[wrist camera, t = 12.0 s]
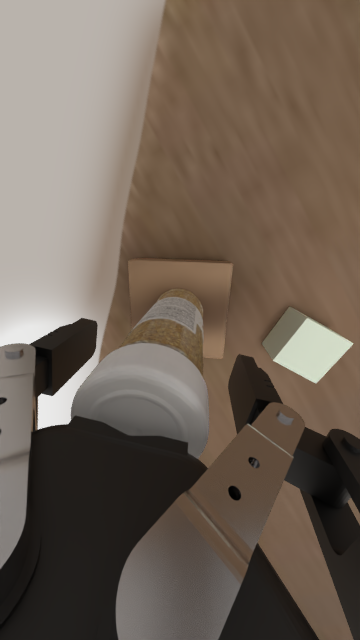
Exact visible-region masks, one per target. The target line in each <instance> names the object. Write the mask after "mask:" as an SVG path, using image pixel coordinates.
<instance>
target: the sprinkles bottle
mask: <svg viewBox="0 0 360 640" xmlns="http://www.w3.org/2000/svg"><path fill="white" fill-rule="evenodd" d="M203 341H204V336H203V307H202V305H201V302H200V301H199V299H198V298H197V297H196V296H195V295H194V294H193V293H191V292H190V291H187V290H184V289H171V290H169V291H167V292H165V293H164V294H162V295H161V296H160V297H159V298H158V300H157V302H156V303H155V304H154V305H153V306H152V308H151V309H150V310H149V311H148V312H147V313H146V314H145V315H144V317H143V318H142V319H141V320H140V321H139V322H138V323H137V325H136V326H135V327H134V328H133V329H132V331H131V332H130V333H129V335H128V337H127V338H126V339H125V341H124V342H123V343H122V345H121V346H120V347H119V348H118V349H117V350H115V351H113V352H111V353H110V354H109V355H107V356H106V357H105V358H104V359H103V360H102V361H101V362H100V363H99V364H98V365H97V367H96V368H95V369H94V370H93V371H92V373H91V374H90V375H89V376H88V377H87V379H86V380H85V381H84V383H83V384H82V385H81V386H80V388H79V389H78V391H77V393H76V395H75V397H74V400H73V404H72V408H71V420H72V419H73V417H74V416H75V415H76V416H80V417H84V418H88V419H92V420H97V421H101V422H104V423H106V424H108V425H109V426H111V427H113V428H115V429H117V430H119V431H121V432H123V433H125V434H127V435H130V436H163V437H167V438H172V439H176V440H180V441H184V442H188V453H189V454H191V455H192V456H194V457H195V458H197V459H198V458H199V457H200V455H201V453H202V452H203V450H204V448H205V446H206V443H207V440H208V434H209V404H208V391H207V386H206V383H205V381H204V378H203Z"/></svg>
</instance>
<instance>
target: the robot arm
mask: <svg viewBox="0 0 360 640" xmlns="http://www.w3.org/2000/svg"><path fill="white" fill-rule="evenodd" d="M96 338H97V323H96V321H93V320H88V319H84V318H81V319H79V320H78V321H76V322H75V323H73V324H69V325H66V326H62V327H59V328H58V329H56V330H54V331H53V332H50V333H49V334H48V335H46V336H43V337H42V338H40V339H38V340H36V341H35V342H33V343H31V344H29V345H28V344H20V343H19V344H10V345H5V346H2V347H0V640H319V639H318V637H317V635H316V634H315V632H314V631H313V629H312V628H311V626H310V625H309V623H308V621H307V620H306V618H305V617H304V615H303V614H302V612H301V610H300V609H299V607H298V606H297V604H296V603H295V601H294V599H293V598H292V596H291V595H290V593H289V592H288V590H287V588H286V587H285V585H284V584H283V582H282V581H281V579H280V577H279V576H278V574H277V573H276V571H275V570H274V568H273V566H272V565H271V563H270V562H269V560H268V559H267V557H266V555H265V554H264V552H263V551H262V549H261V548H260V546H259V544H258V543H257V542H258V540H259V537H260V535H261V533H262V530H263V528H264V526H265V523H266V521H267V519H268V516H269V514H270V512H271V509H272V507H273V505H274V502H275V500H276V497H277V495H278V493H279V490H280V488H281V486H282V483H283V481H284V480H285V481H287V482H289V483H290V484H292V485H294V486H296V487H298V488H299V489H300V491H301V494H302V497H303V499H304V502H305V505H306V508H307V510H308V513H309V516H310V519H311V522H312V524H313V527H314V530H315V533H316V536H317V538H318V541H319V544H320V547H321V550H322V552H323V555H324V558H325V561H326V563H327V566H328V569H329V572H330V575H331V577H332V580H333V583H334V586H335V589H336V591H337V594H338V597H339V600H340V603H341V605H342V608H343V611H344V614H345V616H346V619H347V622H348V625H349V628H350V630H351V633H352V636H353V639H354V640H360V525H359V523H358V522H357V520H356V518H355V516H354V514H353V512H352V510H351V508H350V506H349V505H348V503H347V502H348V500H349V499H350V498H352V500H353V502H354V503H355V505H356V507H357V509H358V511H359V513H360V439H358V438H357V437H355V436H354V435H352V434H350V433H348V432H346V431H343V430H340V429H332V430H330V432H329V433H328V435H327V436H324V435H321V434H319V433H317V432H315V431H313V430H311V429H308V428H306V427H305V423H304V420H303V419H302V417H301V416H300V415H299V414H298V413H297V412H296V411H294V410H293V409H292V408H290V407H288V406H286V405H284V404H283V403H282V401H281V399H280V397H279V395H278V393H277V391H276V389H275V388H274V386H273V384H272V383H271V380H270V378H269V376H268V374H266V373H265V372H264V371H263V370H262V369H261V368H258V367H257V365H256V363H255V360H254V358H253V357H249V356H244V355H240V354H239V355H238V356H237V358H236V361H235V364H234V367H233V370H232V373H231V376H230V379H229V384H228V389H229V395H230V400H231V405H232V410H233V415H234V421H235V426H236V431H237V436H236V437H235V438H234V439H233V440H232V441H231V443H230V444H229V445H228V446H227V447H226V448H225V450H224V451H223V452H222V453H221V454H220V455H219V456H218V458H217V459H216V460H215V461H214V462H213V463H212V465H211V466H210V467H209V468H207V467H206V466H205V465H204V464H203V463H202V462H201V461H200V460H198V459H197V458H195V457H194V456H192V455H191V454H189V453H188V442H184V441H180V440H176V439H172V438H167V437H163V436H130V435H127V434H125V433H123V432H121V431H119V430H117V429H115V428H113V427H111V426H109V425H108V424H106V423H104V422H101V421H97V420H92V419H88V418H84V417H80V416H76V415H75V416H74V417H73V419H72V420H71V421H70V423H69V424H67V425H55V426H50V427H46V428H42V429H39V430H38V429H37V428H38V396H39V395H40V394H41V393H42V394H46V395H51V396H53V395H54V394H55V393H56V392H57V391H58V390H59V389H60V388H61V387H62V386H63V385H64V384H65V383H66V382H67V381H68V380H69V379H70V378H71V377H72V376H73V375H74V374H75V373H76V372H77V371H78V370H79V369H80V368H81V367H82V366H83V365H84V364H85V363H86V362H87V361H88V360H89V359H90V358H91V357H92V356H93V354H94V352H95V349H96Z"/></svg>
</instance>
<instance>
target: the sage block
mask: <svg viewBox="0 0 360 640" xmlns="http://www.w3.org/2000/svg"><path fill="white" fill-rule="evenodd" d="M262 344H263V346H264V348H265V349H266V351H267V352H268V354H269V355H270V357H271V358H272V360H273V361H275V362H277V363H278V364H280V365H282V366H284V367H286V368H288V369H290V370H292V371H293V372H295V373H297V374H299V375H301V376H303V377H305V378H307V379H308V380H310V381H312V382H314V383H317V382H318V381H319V380H320V379H321V378H322V377H323V376H324V375H325V373H326V372H327V371H328V370H329V369H330V368H331V367H332V366H333V365H334V364H335V363H336V362H337V361H338V360H339V359H340V358H341V357H342V355H343V354H344V353H345V352H346V351H347V350H348V349H349V348H350V347H351V346H352V345H353V343H352V342H350V341H349V340H347V339H345V338H344V337H342V336H341V335H339V334H337V333H336V332H334V331H333V330H331V329H329V328H328V327H326V326H324V325H322V324H320V323H319V322H317V321H315V320H313V319H312V318H310V317H308V316H306V315H304V314H303V313H301V312H299V311H297V310H295V309H294V308H292V307H290V306H289V308H288V309H287V310H286V312H285V313H284V314H283V316H282V317H281V318H280V320H279V321H278V322H277V324H276V325H275V326H274V328H273V329H272V330H271V332H270V333H269V334H268V336H267V337H266V338H265V340H264V341H263V342H262Z"/></svg>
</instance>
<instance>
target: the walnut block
mask: <svg viewBox="0 0 360 640" xmlns="http://www.w3.org/2000/svg"><path fill="white" fill-rule="evenodd" d="M232 270H233V263H231V262H229V261H214V260H185V259H156V258H137V259H131V260H128V271H129V290H130V310H131V329H133V328H134V327H135V326H136V325H137V323H138V322H139V321H140V320H141V319H142V318H143V317H144V315H145V314H146V313H147V312H148V311H149V310H150V309H151V308H152V306H153V305H154V304H155V303H156V302H157V300H158V298H159V297H160V296H161V295H162V294H164V293H165V292H167V291H169V290H171V289H184V290H187V291H190V292H191V293H193V294H194V295H195V296H196V297H197V298H198V299H199V301H200V302H201V305H202V307H203V336H204V341H203V357H204V358H218V359H223V352H224V343H225V334H226V325H227V316H228V306H229V297H230V288H231V279H232Z"/></svg>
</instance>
